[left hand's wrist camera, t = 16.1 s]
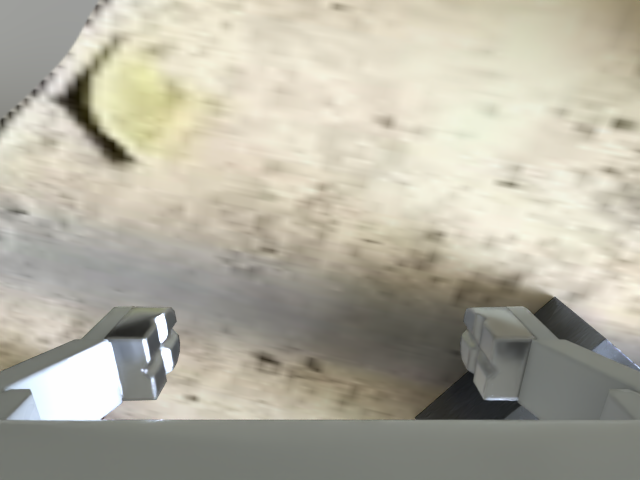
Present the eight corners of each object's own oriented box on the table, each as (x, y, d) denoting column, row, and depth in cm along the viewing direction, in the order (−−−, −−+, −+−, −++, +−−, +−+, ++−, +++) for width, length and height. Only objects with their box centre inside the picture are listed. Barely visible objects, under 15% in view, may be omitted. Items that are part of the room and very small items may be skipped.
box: (554, 296, 44) (605, 338, 36) (586, 323, 46) (642, 370, 38) (414, 417, 51) (432, 475, 43) (446, 438, 52) (468, 498, 44)
